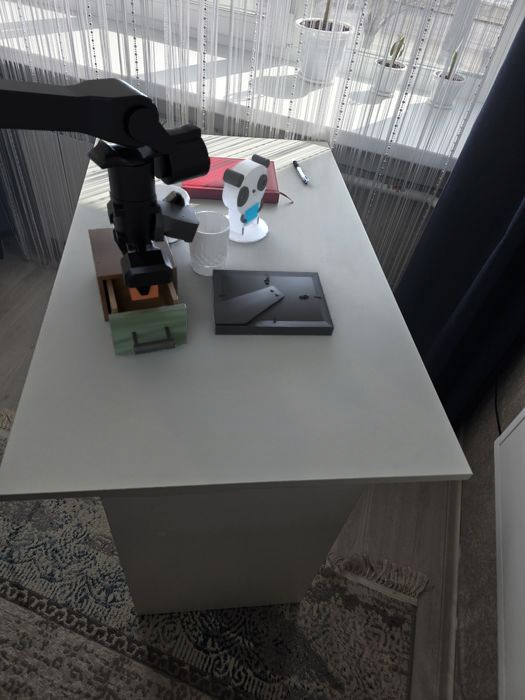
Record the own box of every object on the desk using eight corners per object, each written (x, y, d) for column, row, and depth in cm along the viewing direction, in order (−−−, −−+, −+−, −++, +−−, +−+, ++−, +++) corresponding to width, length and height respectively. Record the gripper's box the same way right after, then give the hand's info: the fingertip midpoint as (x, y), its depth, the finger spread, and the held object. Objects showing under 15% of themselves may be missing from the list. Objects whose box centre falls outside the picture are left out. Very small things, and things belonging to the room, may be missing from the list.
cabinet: (178, 311, 83) (177, 267, 77) (104, 321, 80) (96, 276, 73) (162, 266, 92) (160, 223, 85) (96, 273, 88) (87, 229, 81)
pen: (310, 185, 122) (311, 181, 121) (304, 185, 122) (305, 181, 121) (296, 161, 131) (297, 157, 131) (290, 161, 131) (291, 157, 130)
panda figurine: (247, 250, 99) (253, 183, 88) (205, 229, 103) (206, 163, 92) (277, 227, 106) (287, 163, 96) (237, 209, 110) (242, 145, 99)
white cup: (203, 283, 90) (204, 238, 82) (180, 262, 93) (179, 217, 86) (235, 270, 94) (239, 226, 86) (212, 250, 97) (214, 207, 90)
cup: (199, 235, 101) (199, 195, 94) (168, 255, 95) (166, 214, 88) (163, 218, 104) (162, 178, 97) (131, 236, 98) (127, 195, 91)
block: (132, 300, 71) (129, 279, 68) (128, 284, 73) (125, 263, 70) (158, 297, 72) (157, 276, 69) (153, 281, 75) (152, 260, 72)
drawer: (193, 362, 74) (193, 327, 69) (119, 376, 71) (113, 340, 65) (170, 296, 85) (169, 260, 79) (105, 304, 81) (99, 268, 76)
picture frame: (214, 334, 80) (331, 335, 83) (215, 322, 78) (335, 324, 81) (212, 278, 91) (315, 280, 94) (212, 266, 89) (318, 269, 92)
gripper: (212, 224, 57) (209, 318, 69) (178, 156, 69) (180, 246, 80) (119, 232, 54) (131, 330, 65) (100, 160, 66) (113, 253, 77)
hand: (142, 285), depth 72 cm, fingers closed on block, 4 cm apart
